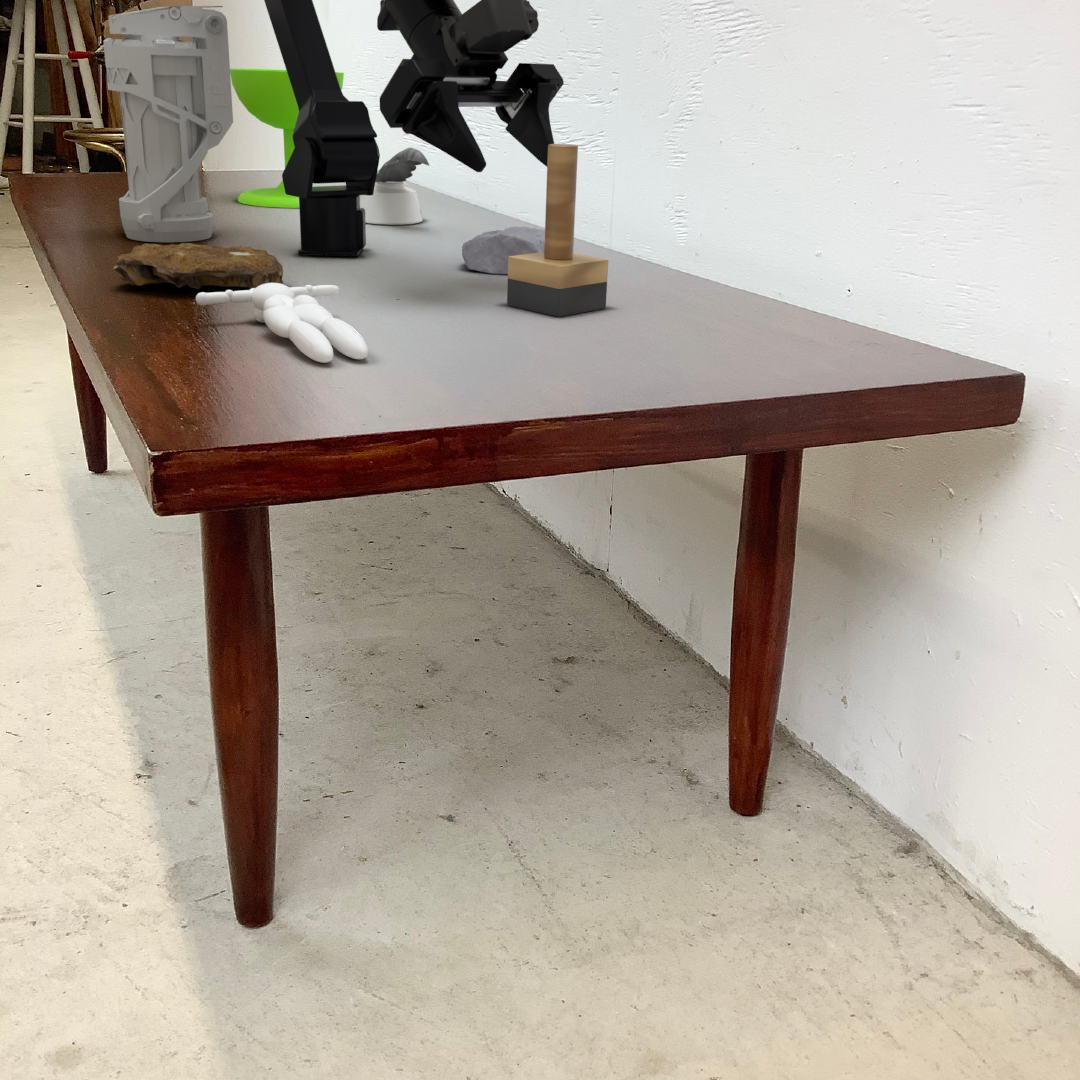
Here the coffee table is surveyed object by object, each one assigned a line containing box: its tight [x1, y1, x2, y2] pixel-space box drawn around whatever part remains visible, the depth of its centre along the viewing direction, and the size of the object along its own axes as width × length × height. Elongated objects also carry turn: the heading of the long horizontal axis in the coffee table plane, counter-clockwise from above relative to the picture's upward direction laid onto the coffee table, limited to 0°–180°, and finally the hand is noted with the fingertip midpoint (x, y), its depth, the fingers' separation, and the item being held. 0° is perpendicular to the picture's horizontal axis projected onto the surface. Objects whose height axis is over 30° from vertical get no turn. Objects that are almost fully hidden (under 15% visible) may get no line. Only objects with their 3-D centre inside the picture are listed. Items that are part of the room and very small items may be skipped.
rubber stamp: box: [506, 143, 609, 318], centre depth 103 cm, size 6×6×14 cm
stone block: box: [461, 226, 545, 275], centre depth 125 cm, size 12×5×10 cm
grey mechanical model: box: [103, 5, 234, 243], centre depth 132 cm, size 13×10×25 cm
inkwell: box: [360, 147, 430, 226], centre depth 151 cm, size 9×18×10 cm, turn 32°
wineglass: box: [230, 68, 345, 209], centre depth 169 cm, size 16×16×18 cm
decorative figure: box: [195, 283, 369, 364], centre depth 90 cm, size 4×12×18 cm
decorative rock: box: [113, 242, 284, 290], centre depth 107 cm, size 11×4×15 cm
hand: (519, 167), depth 104 cm, fingers open, 9 cm apart
